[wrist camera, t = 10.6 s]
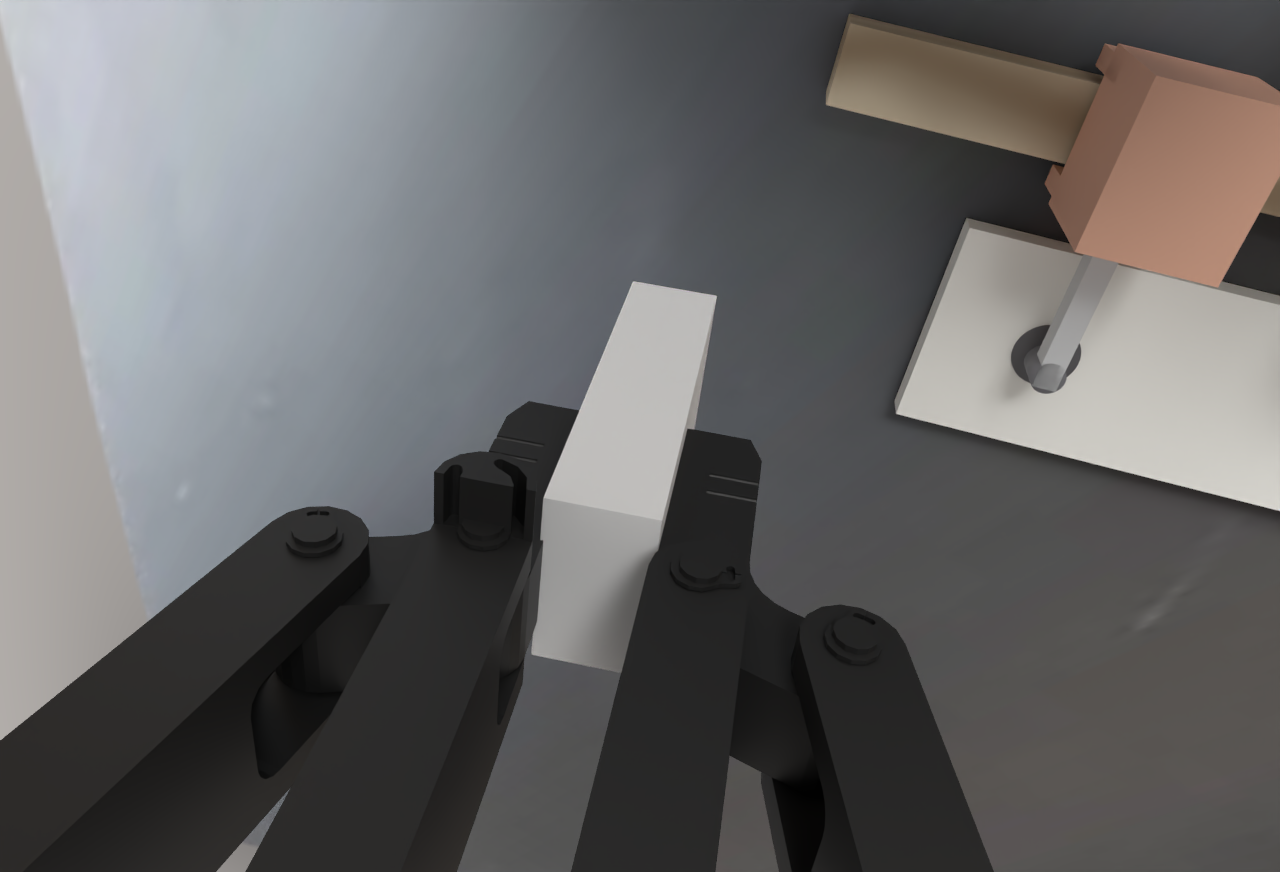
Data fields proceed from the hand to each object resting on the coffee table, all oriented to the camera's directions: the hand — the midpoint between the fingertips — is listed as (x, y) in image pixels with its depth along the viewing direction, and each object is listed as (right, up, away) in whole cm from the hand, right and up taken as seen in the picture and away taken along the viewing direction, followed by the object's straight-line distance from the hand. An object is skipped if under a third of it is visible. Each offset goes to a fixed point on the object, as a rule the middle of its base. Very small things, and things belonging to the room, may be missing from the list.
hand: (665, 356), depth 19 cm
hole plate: (+23, +1, +26) cm, 35 cm away
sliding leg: (+18, +7, +23) cm, 30 cm away
